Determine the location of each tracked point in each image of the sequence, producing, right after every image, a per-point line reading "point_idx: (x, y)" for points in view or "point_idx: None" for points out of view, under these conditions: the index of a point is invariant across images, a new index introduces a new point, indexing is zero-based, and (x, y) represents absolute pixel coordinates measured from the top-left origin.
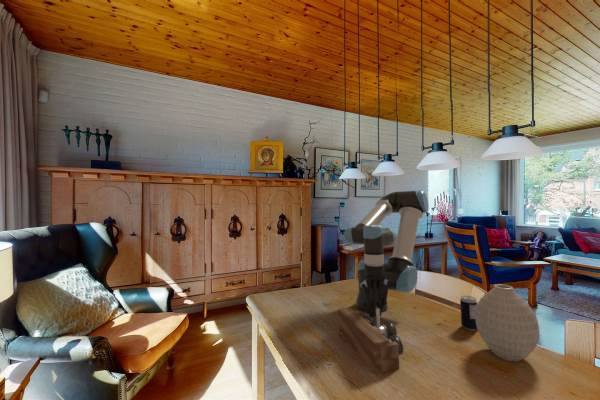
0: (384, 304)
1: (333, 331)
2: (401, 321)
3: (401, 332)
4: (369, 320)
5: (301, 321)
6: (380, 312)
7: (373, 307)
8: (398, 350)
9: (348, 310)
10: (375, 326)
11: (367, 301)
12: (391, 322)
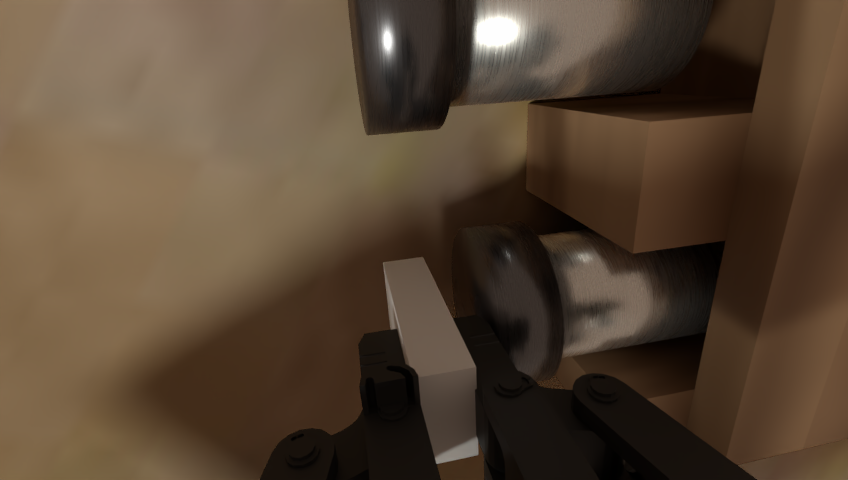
0: (305, 447)
1: None
2: (62, 409)
3: (159, 211)
4: (544, 263)
5: (789, 461)
6: (375, 359)
7: (535, 384)
8: None
9: (792, 396)
10: (625, 21)
11: (723, 466)
12: (366, 13)
